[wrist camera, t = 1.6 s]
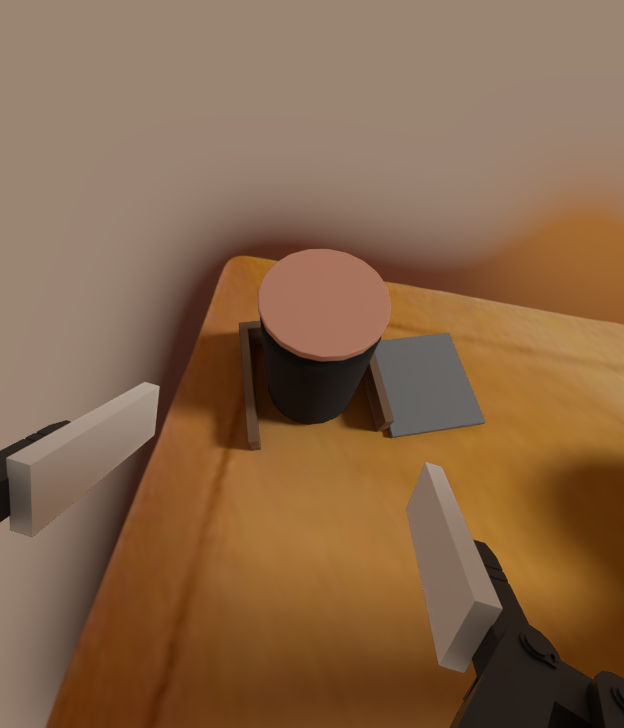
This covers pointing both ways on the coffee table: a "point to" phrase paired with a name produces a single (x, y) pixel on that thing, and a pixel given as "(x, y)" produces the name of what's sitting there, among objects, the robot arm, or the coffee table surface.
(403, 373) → the charcoal mat
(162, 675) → the coffee table surface
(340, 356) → the coffee jar
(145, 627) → the coffee table surface
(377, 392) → the walnut holder
